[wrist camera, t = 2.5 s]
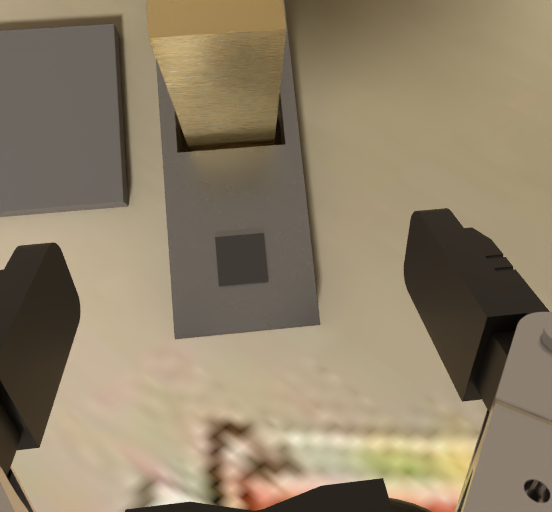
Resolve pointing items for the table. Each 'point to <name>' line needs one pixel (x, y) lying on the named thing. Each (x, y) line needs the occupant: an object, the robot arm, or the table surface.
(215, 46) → the brass block
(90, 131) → the mat
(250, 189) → the rail
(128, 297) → the table surface
